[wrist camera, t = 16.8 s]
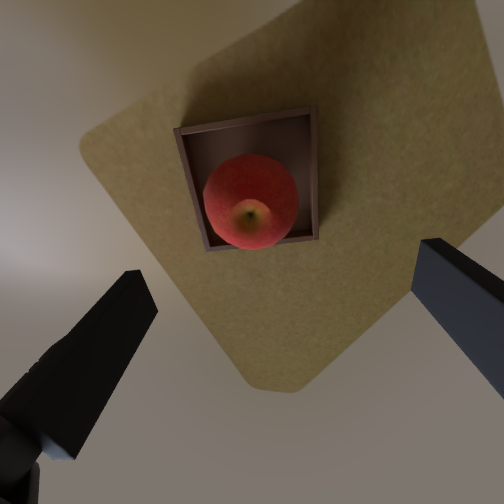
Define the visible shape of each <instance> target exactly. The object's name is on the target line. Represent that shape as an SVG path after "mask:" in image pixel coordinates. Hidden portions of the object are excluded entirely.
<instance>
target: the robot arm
mask: <svg viewBox="0 0 504 504" xmlns="http://www.w3.org/2000/svg"><path fill="white" fill-rule="evenodd" d="M411 291H412V292H413V293H414V294H415V295H416V297H417V298H418V299H419V300H420V301H421V303H422V304H423V305H424V306H425V307H426V309H427V310H428V311H429V312H430V313H431V314H432V316H433V317H434V318H435V319H436V320H437V321H438V323H439V324H440V325H441V326H442V327H443V328H444V330H445V331H446V332H447V333H448V334H449V335H450V337H451V338H452V339H453V340H454V341H455V342H456V344H457V345H458V346H459V347H460V348H461V350H462V351H463V352H464V353H465V354H466V355H467V356H468V358H469V359H470V360H471V361H472V363H473V364H474V365H475V366H476V367H477V368H478V370H480V372H481V373H482V374H483V375H484V376H485V378H486V379H487V380H488V381H489V382H490V384H491V385H492V386H493V387H494V388H495V390H496V391H497V392H498V393H499V394H500V395H501V397H502V398H503V399H504V281H503V280H501V279H500V278H498V277H497V276H495V275H494V274H493V273H491V272H490V271H488V270H487V269H485V268H484V267H482V266H481V265H479V264H478V263H476V262H475V261H473V260H472V259H470V258H469V257H468V256H466V255H464V254H463V253H462V252H460V251H459V250H457V249H456V248H454V247H453V246H451V245H450V244H448V243H447V242H445V241H444V240H442V239H441V238H433V239H424V240H421V242H420V247H419V252H418V257H417V262H416V267H415V272H414V277H413V282H412V287H411ZM157 313H158V310H157V307H156V305H155V303H154V300H153V298H152V296H151V294H150V291H149V289H148V287H147V285H146V282H145V280H144V278H143V275H142V273H141V271H140V270H132V271H125V272H124V273H123V275H122V276H121V277H120V278H119V279H118V280H117V281H116V282H115V283H114V284H113V285H112V287H110V289H109V290H108V291H107V292H106V293H105V294H104V295H103V296H102V297H101V298H100V300H99V301H98V302H97V303H96V304H95V305H94V306H93V307H92V308H91V309H90V310H89V311H88V313H86V315H85V316H84V317H83V318H82V319H81V320H80V321H79V322H78V323H77V324H76V326H75V327H73V329H72V330H71V331H70V332H69V333H68V334H67V335H66V336H64V337H63V338H62V339H61V340H59V341H58V342H56V343H55V344H54V345H52V346H51V347H50V348H49V349H48V350H47V351H46V352H45V353H44V354H43V355H42V356H41V357H40V359H39V361H38V362H36V363H35V364H34V365H33V366H32V367H31V368H30V369H29V372H28V373H25V374H24V375H23V376H22V378H21V379H20V380H19V381H18V382H17V383H16V384H15V385H14V386H13V387H12V388H11V389H10V390H9V391H8V392H7V393H6V394H5V395H4V397H3V398H2V399H1V400H0V504H38V493H39V476H40V469H39V464H38V463H37V462H36V459H37V458H38V457H39V455H40V454H41V452H42V451H43V452H44V453H45V454H47V455H48V456H49V457H50V458H51V459H52V460H75V459H76V457H77V455H78V453H79V452H80V450H81V448H82V446H83V445H84V443H85V441H86V439H87V437H88V435H89V434H90V432H91V430H92V428H93V427H94V425H95V423H96V421H97V419H98V418H99V416H100V414H101V412H102V411H103V409H104V407H105V405H106V404H107V402H108V400H109V398H110V396H111V395H112V393H113V391H114V389H115V388H116V386H117V384H118V382H119V380H120V378H121V377H122V375H123V373H124V371H125V370H126V368H127V366H128V364H129V363H130V360H131V359H132V357H133V355H134V354H135V352H136V350H137V348H138V346H139V345H140V343H141V341H142V339H143V338H144V336H145V334H146V332H147V330H148V329H149V327H150V325H151V323H152V322H153V320H154V318H155V316H156V314H157Z"/></svg>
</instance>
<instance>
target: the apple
mask: <svg viewBox="0 0 504 504" xmlns="http://www.w3.org/2000/svg"><path fill="white" fill-rule="evenodd" d="M203 196H204V203H205V211H206V214H207V216H208V219H209V221H210V223H211V225H212V227H213V229H214V231H215V232H216V233H217V234H218V235H219V236H220V237H221V238H223V239H224V240H225V241H226V242H228V243H230V244H232V245H234V246H237V247H239V248H241V249H250V250H259V249H263V248H266V247H269V246H272V245H274V244H275V243H277V242H278V241H279V240H281V239H282V238H284V237H285V236H286V235H287V233H288V232H289V231H290V229H291V227H292V226H293V224H294V222H295V221H296V219H297V217H298V205H299V197H298V192H297V187H296V183H295V180H294V179H293V177H292V176H291V175H290V174H289V172H288V171H287V170H286V168H285V167H284V166H283V165H282V164H281V163H280V162H278V161H276V160H273V159H271V158H269V157H267V156H264V155H256V154H248V153H246V154H243V155H240V156H237V157H234V158H231V159H228V160H225V161H224V162H222V163H221V164H220V165H219V166H218V167H217V168H216V169H215V170H213V171H212V172H211V173H210V175H209V177H208V180H207V183H206V186H205V188H204V191H203Z"/></svg>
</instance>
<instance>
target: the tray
mask: <svg viewBox="0 0 504 504" xmlns="http://www.w3.org/2000/svg"><path fill="white" fill-rule="evenodd" d="M173 131H174V135H175V138H176V142H177V146H178V150H179V153H180V157H181V161H182V164H183V168H184V172H185V176H186V179H187V183H188V187H189V191H190V194H191V198H192V202H193V205H194V209H195V213H196V217H197V220H198V224H199V228H200V231H201V235H202V239H203V243H204V246H205V250H206V252H212V251H221V250H230V249H239V247H237V246H234V245H232V244H230V243H228V242H226V241H225V240H224V239H223V238H221V237H220V236H219V235H218V234H217V233H216V232H215V231H214V229H213V227H212V225H211V223H210V221H209V219H208V216H207V214H206V211H205V203H204V196H203V191H204V188H205V186H206V183H207V180H208V177H209V175H210V173H211V172H212V171H213V170H215V169H216V168H217V167H218V166H219V165H220V164H221V163H222V162H224V161H225V160H228V159H231V158H234V157H237V156H240V155H243V154H246V153H248V154H256V155H264V156H267V157H269V158H271V159H273V160H276V161H278V162H280V163H281V164H282V165H283V166H284V167H285V168H286V170H287V171H288V172H289V174H290V175H291V176H292V177H293V179H294V180H295V183H296V187H297V192H298V197H299V205H298V217H297V219H296V221H295V222H294V224H293V226H292V227H291V229H290V231H289V232H288V233H287V235H286V236H285V237H284V238H282V239H281V240H279V241H278V242H277V243H275V244H284V243H293V242H302V241H311V240H319V211H318V133H317V105H312V106H306V107H300V108H294V109H288V110H282V111H276V112H270V113H264V114H258V115H252V116H246V117H240V118H234V119H228V120H222V121H216V122H210V123H204V124H198V125H192V126H186V127H180V128H174V129H173ZM275 244H274V245H275Z"/></svg>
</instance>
